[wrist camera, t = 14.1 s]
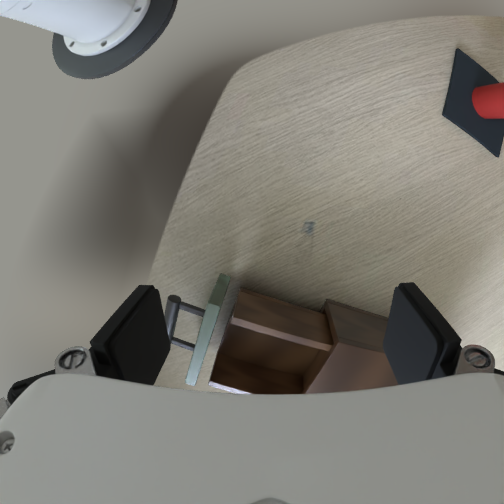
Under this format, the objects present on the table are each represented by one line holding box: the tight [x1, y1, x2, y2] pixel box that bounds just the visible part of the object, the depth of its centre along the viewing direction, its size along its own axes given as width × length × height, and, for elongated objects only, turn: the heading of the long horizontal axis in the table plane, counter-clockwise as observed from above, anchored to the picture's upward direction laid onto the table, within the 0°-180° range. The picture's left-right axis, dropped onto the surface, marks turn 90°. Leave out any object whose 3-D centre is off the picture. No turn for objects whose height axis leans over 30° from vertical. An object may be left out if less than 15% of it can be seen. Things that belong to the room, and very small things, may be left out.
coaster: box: [442, 49, 504, 157], centre depth 21 cm, size 10×10×1 cm
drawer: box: [164, 273, 334, 395], centre depth 30 cm, size 19×11×6 cm, turn 72°
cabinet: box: [301, 299, 398, 394], centre depth 30 cm, size 16×13×8 cm
